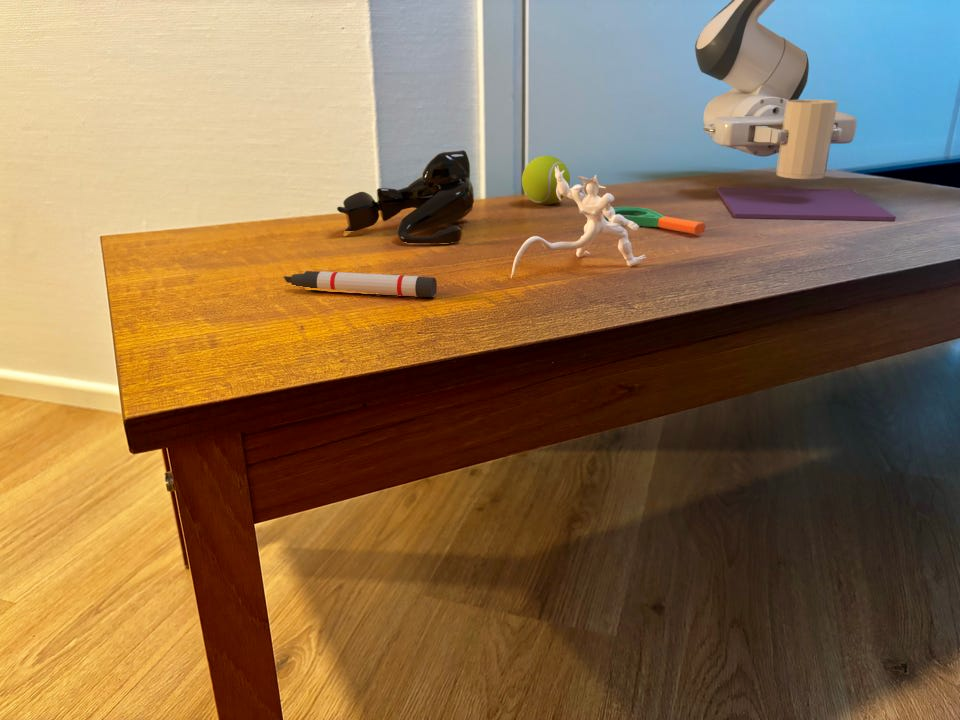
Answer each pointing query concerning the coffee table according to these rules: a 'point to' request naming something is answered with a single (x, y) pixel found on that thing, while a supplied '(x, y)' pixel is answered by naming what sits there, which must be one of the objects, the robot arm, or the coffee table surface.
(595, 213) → the creature figurine
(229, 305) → the coffee table surface
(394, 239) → the coffee table surface
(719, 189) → the mat
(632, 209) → the magnifying glass
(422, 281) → the marker
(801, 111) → the pen cup
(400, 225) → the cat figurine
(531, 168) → the tennis ball
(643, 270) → the coffee table surface
